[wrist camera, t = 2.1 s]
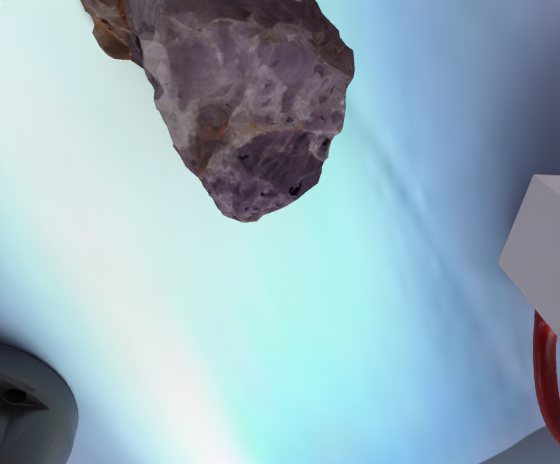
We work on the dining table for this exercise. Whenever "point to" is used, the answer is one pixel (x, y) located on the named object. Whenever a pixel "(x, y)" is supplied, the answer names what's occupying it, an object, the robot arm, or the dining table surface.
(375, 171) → the dining table surface
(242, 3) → the rock
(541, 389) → the mug
